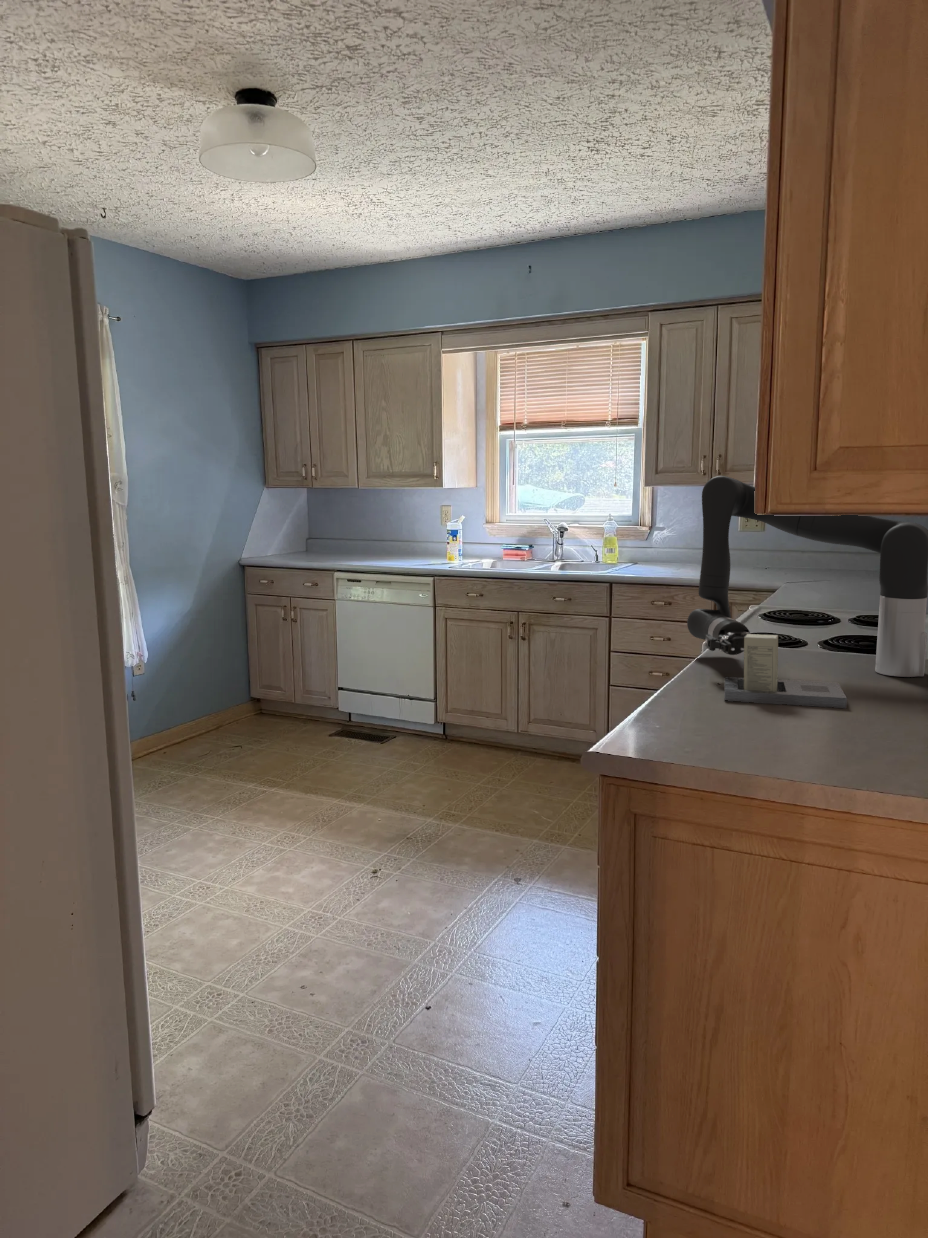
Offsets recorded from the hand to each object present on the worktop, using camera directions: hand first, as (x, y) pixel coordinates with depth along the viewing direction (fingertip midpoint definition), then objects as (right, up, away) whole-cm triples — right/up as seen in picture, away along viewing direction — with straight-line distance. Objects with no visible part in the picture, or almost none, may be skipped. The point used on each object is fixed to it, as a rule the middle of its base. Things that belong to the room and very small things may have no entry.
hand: (750, 648), depth 176 cm
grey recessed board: (+4, -9, -8) cm, 13 cm away
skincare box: (0, -9, -7) cm, 12 cm away
